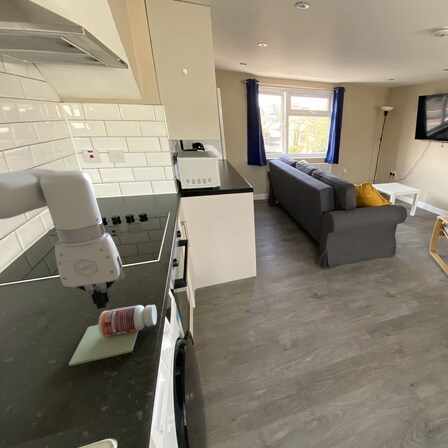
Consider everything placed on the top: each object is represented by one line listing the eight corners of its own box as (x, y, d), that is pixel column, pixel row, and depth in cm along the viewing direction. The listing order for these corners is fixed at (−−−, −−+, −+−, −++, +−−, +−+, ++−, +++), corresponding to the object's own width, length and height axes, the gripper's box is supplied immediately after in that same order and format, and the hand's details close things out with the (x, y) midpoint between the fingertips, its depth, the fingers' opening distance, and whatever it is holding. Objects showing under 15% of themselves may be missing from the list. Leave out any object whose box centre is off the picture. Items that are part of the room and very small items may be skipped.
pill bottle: (99, 342, 61) (153, 332, 64) (95, 317, 60) (150, 308, 64) (109, 330, 67) (158, 321, 70) (106, 307, 66) (155, 299, 70)
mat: (69, 366, 57) (68, 364, 56) (88, 328, 67) (88, 326, 67) (132, 351, 61) (131, 349, 60) (141, 318, 71) (141, 316, 71)
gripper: (25, 244, 48) (56, 323, 55) (119, 234, 53) (137, 308, 60) (45, 229, 55) (71, 301, 61) (127, 222, 60) (143, 289, 66)
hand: (104, 304), depth 61 cm, fingers closed
